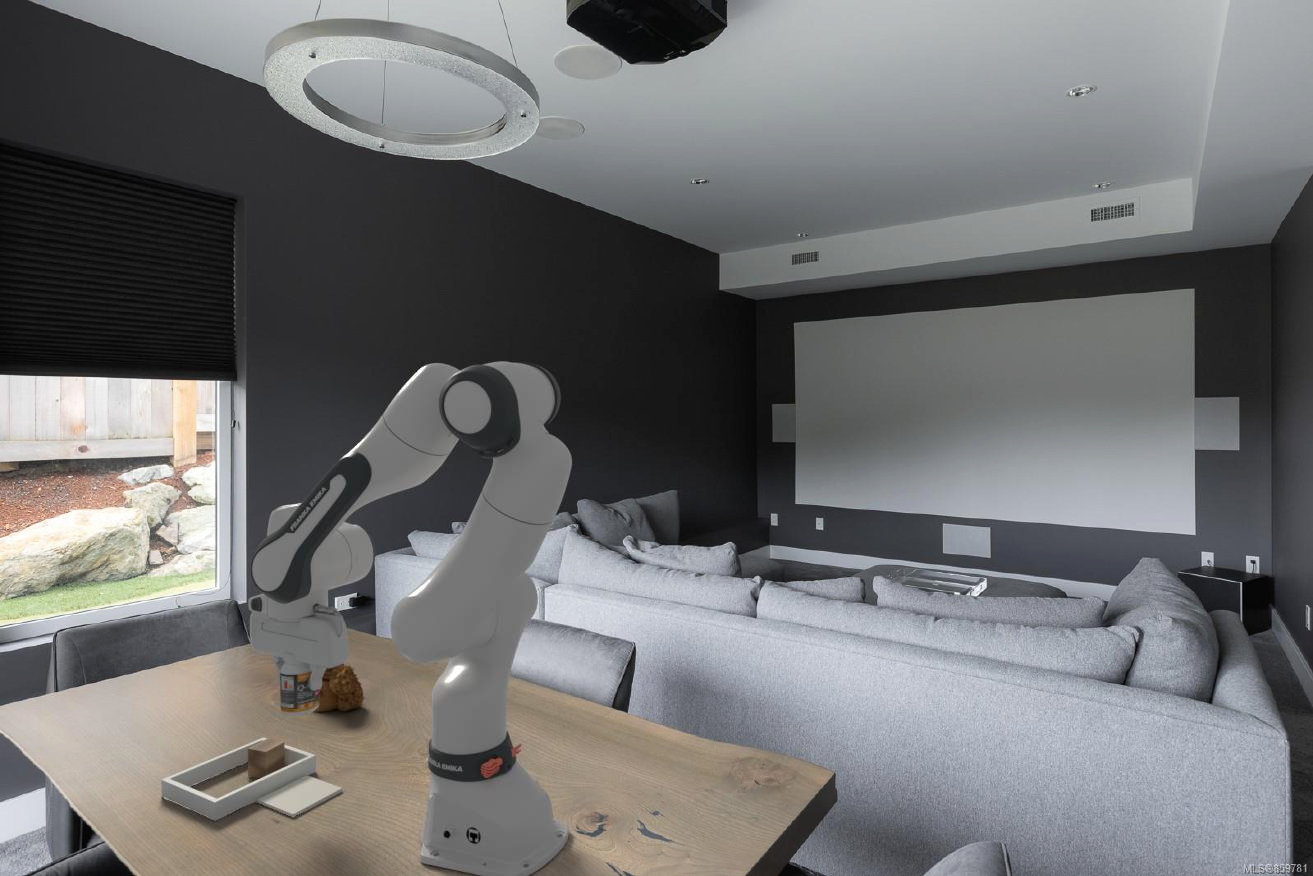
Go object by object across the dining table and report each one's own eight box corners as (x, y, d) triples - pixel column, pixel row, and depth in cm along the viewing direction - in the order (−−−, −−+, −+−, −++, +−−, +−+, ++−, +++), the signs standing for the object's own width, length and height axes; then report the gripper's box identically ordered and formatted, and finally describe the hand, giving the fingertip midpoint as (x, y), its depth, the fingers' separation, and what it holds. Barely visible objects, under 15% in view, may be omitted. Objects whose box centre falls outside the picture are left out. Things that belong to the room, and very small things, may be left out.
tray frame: (315, 771, 126) (315, 755, 126) (215, 821, 111) (215, 802, 111) (263, 753, 133) (263, 737, 133) (161, 797, 117) (161, 779, 117)
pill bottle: (303, 719, 114) (303, 657, 114) (272, 716, 115) (271, 654, 115) (326, 704, 120) (326, 646, 119) (296, 702, 121) (296, 643, 120)
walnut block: (284, 769, 127) (284, 742, 127) (266, 780, 123) (265, 752, 123) (266, 766, 128) (266, 738, 128) (248, 777, 125) (247, 748, 124)
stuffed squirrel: (341, 692, 163) (340, 634, 162) (379, 706, 155) (378, 646, 154) (298, 706, 154) (297, 646, 154) (336, 722, 147) (335, 659, 146)
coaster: (342, 791, 120) (342, 788, 120) (293, 818, 112) (293, 814, 112) (306, 778, 124) (306, 775, 124) (257, 803, 116) (256, 799, 116)
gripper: (358, 604, 115) (359, 689, 115) (276, 590, 124) (278, 669, 125) (324, 613, 109) (325, 703, 110) (241, 598, 119) (243, 681, 119)
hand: (299, 685), depth 117 cm, fingers closed on pill bottle, 6 cm apart
